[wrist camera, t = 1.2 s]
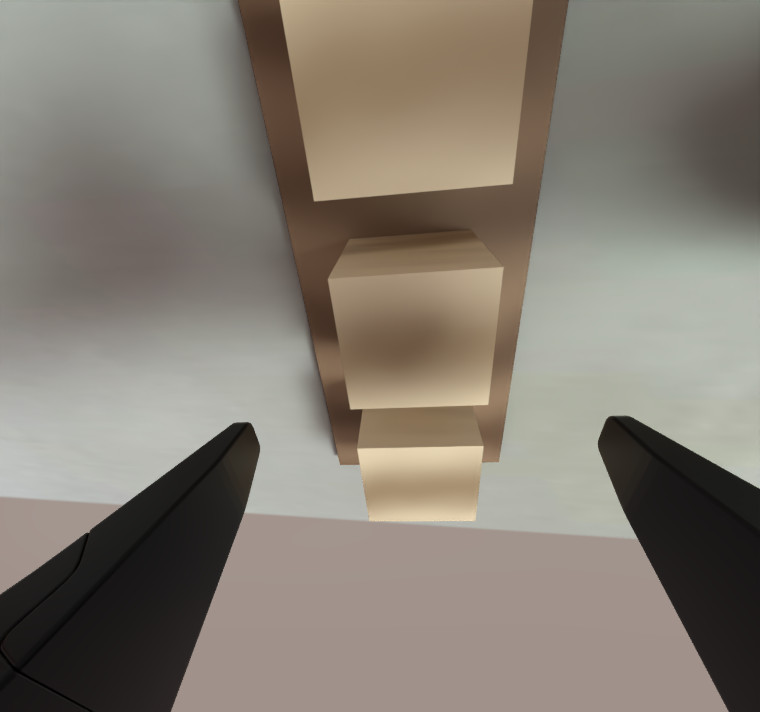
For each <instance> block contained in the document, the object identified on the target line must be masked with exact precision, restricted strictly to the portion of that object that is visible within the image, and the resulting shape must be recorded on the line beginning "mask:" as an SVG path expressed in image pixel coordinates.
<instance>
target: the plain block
mask: <svg viewBox="0 0 760 712" xmlns="http://www.w3.org/2000/svg"><path fill="white" fill-rule="evenodd" d="M503 269H504V267H503V266H502V265H501V263H500V262H499V261H498V260H497V259H496V258H495V257H494V255H493V254H492V253H491V252H490V251H489V250H488V249H487V247H486V246H485V245H484V244H483V243H482V242H481V241H480V239H479V238H478V237H477V236H476V235H475V234H474V233H473V231H472V230H460V231H447V232H435V233H422V234H409V235H396V236H383V237H370V238H357V239H349V241H348V243H347V245H346V246H345V248H344V250H343V252H342V254H341V256H340V257H339V259H338V261H337V263H336V265H335V267H334V268H333V270H332V272H331V274H330V276H329V278H328V283H329V289H330V295H331V301H332V306H333V312H334V318H335V324H336V330H337V335H338V341H339V347H340V353H341V358H342V364H343V370H344V376H345V382H346V387H347V393H348V399H349V405H350V409H379V408H410V407H441V406H472V405H488V403H489V394H490V385H491V376H492V367H493V358H494V349H495V340H496V331H497V322H498V313H499V304H500V295H501V286H502V277H503Z"/></svg>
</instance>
